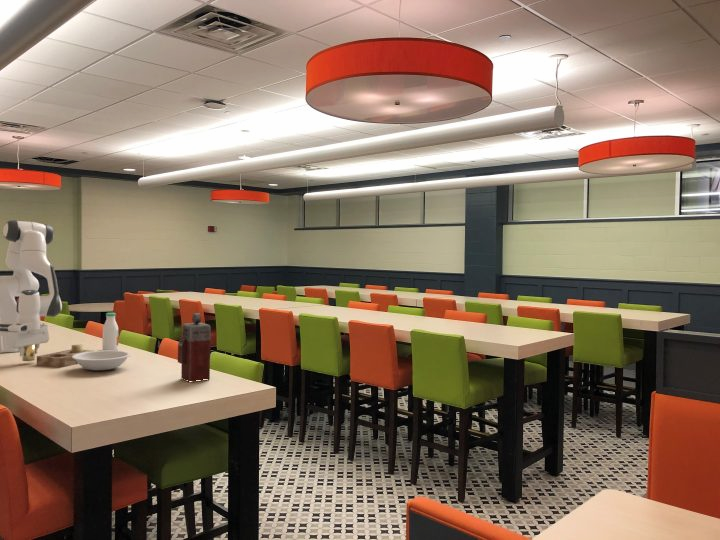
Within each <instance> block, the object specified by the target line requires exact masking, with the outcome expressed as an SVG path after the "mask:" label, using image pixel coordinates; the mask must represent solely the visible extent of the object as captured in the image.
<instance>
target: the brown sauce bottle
mask: <svg viewBox="0 0 720 540" xmlns="http://www.w3.org/2000/svg"><path fill="white" fill-rule="evenodd" d="M191 318H192V319H191V320H192V322H190V323H189V322H187V323H182V326H181V337H180V338H179V341H178V343H177V363H179V364H181V375H180V376H181V377H180V379H181V378H183V379H185V380H188V381H196V380H203V379H210V380H211V378H210V377H211V376H210V375H211V372H210V371H211V333H212V331H211V328H212V327H211V325H210V324H207V323H203V322H201V321H202V315H201V313H200V312H198V313H197V312H196V313H192V315H191ZM183 379H182V380H183ZM185 380H184V381H185Z"/></svg>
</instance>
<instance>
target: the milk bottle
mask: <svg viewBox="0 0 720 540" xmlns="http://www.w3.org/2000/svg"><path fill="white" fill-rule="evenodd" d="M116 315H117V314H116V312H106V313H105V317H106V318H105V319H106V320H105V322H104V324H103V326H102V346H101V347H102V348H101V349H102V350H101V351H106V350H113V351H119V326H118V324H117V323H118V322H116Z"/></svg>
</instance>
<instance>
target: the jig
mask: <svg viewBox="0 0 720 540" xmlns="http://www.w3.org/2000/svg"><path fill="white" fill-rule="evenodd" d="M91 351H93V350H90V349H89V350H88V349H84V345H83V344H72V345H71V349H65V350H62V351H61V350H60V351H56V352H52V353H46V354H42V355H38V356H37V355H36V366H43V367H54V368H65V367H69V366H73V365H77V364H78V362H77V361H76V360H75V359H73V358H72V356H73V355H75V354H79V353H83V352H91ZM78 365H79V364H78Z"/></svg>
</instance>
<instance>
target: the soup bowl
mask: <svg viewBox="0 0 720 540" xmlns="http://www.w3.org/2000/svg"><path fill="white" fill-rule="evenodd" d="M131 355H132V354H131V352H129V351H123V350H116V351H113V350H106V351H103V350H92V351H91V352H83V353H79V354H75V355H73V356H72V358H73V359H75V360H76V361H77V362H78V365H79V366H80V367H82V368H83V369H84V370H85V369H86V370H90V371H108V370H112V369H113V370H114V369H116V368H119V367H120V366H121V365H122V364H124V363H125V362H126V360H127V359H128V357H129V358H130V356H131Z"/></svg>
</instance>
